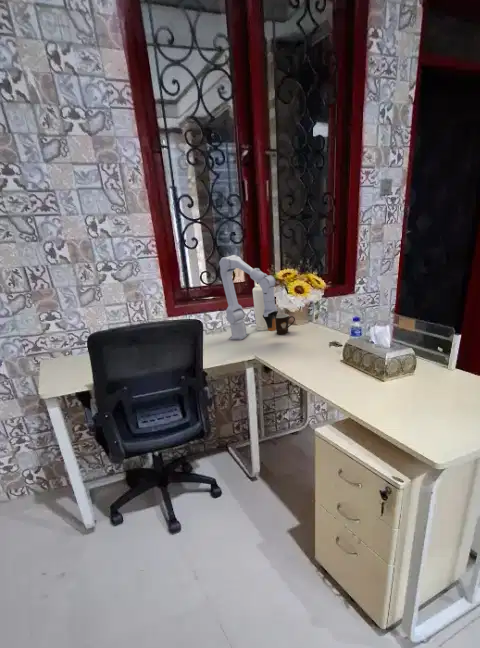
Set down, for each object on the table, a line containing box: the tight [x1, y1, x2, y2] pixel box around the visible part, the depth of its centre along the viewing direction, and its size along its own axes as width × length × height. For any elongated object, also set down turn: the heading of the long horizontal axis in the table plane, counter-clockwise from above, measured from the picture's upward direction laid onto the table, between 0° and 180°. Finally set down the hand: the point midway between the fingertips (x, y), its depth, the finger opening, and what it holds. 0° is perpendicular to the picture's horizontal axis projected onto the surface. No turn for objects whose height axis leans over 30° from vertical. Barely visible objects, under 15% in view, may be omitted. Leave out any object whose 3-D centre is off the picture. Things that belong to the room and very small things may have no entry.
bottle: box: [252, 280, 268, 331], centre depth 243 cm, size 8×8×28 cm
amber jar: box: [267, 315, 276, 332], centre depth 220 cm, size 5×5×8 cm
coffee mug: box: [275, 313, 296, 336], centre depth 236 cm, size 12×9×10 cm
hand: (271, 326), depth 221 cm, fingers closed on amber jar, 4 cm apart
